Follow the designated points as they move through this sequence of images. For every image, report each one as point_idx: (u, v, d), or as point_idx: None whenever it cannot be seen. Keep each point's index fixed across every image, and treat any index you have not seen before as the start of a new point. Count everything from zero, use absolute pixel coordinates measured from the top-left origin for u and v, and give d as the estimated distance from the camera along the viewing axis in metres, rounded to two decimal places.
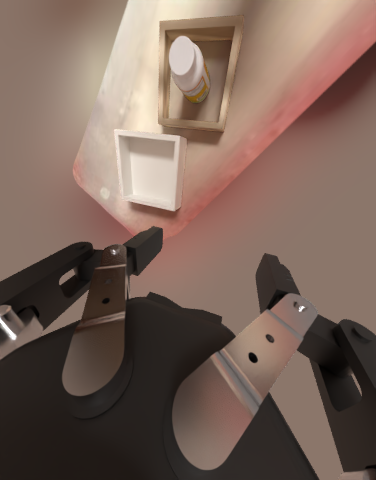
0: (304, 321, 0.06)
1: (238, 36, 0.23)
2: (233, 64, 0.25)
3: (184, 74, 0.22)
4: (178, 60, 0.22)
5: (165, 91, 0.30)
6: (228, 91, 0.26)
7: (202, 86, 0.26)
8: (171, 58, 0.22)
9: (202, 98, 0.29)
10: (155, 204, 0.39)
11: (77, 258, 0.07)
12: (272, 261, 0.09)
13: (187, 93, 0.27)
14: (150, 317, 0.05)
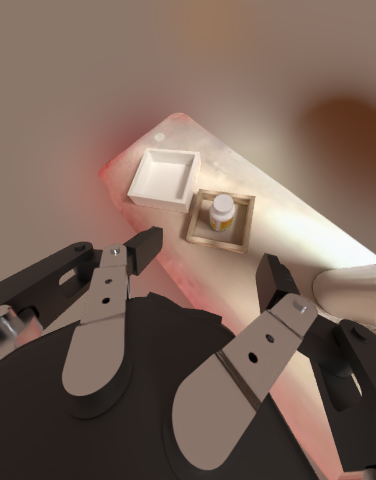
0: (304, 321, 0.06)
1: (237, 248, 0.33)
2: (223, 245, 0.33)
3: (213, 204, 0.29)
4: (221, 200, 0.29)
5: None
6: (208, 242, 0.34)
7: (213, 223, 0.34)
8: (223, 196, 0.30)
9: None
10: (136, 178, 0.40)
11: (77, 258, 0.07)
12: (272, 261, 0.09)
13: None
14: (150, 317, 0.05)
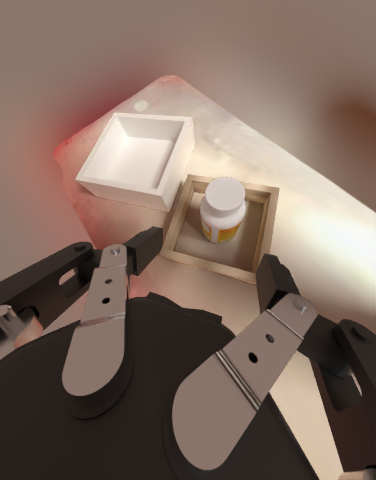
0: (304, 321, 0.06)
1: (246, 277, 0.18)
2: (222, 271, 0.19)
3: (205, 195, 0.15)
4: (221, 189, 0.15)
5: None
6: (197, 264, 0.20)
7: (206, 230, 0.20)
8: (226, 180, 0.15)
9: (203, 232, 0.23)
10: (92, 155, 0.26)
11: (77, 258, 0.07)
12: (272, 261, 0.09)
13: None
14: (150, 317, 0.05)
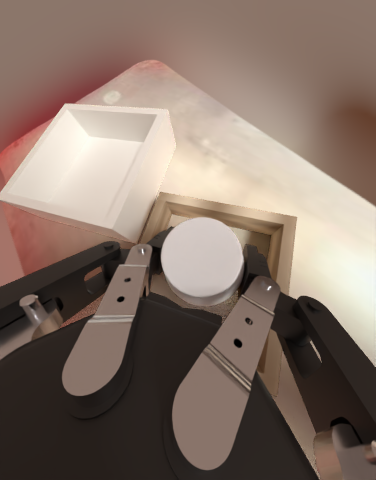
0: (266, 296, 0.07)
1: None
2: None
3: (161, 257, 0.07)
4: (194, 244, 0.07)
5: (204, 213, 0.16)
6: None
7: None
8: (204, 224, 0.07)
9: None
10: (26, 162, 0.18)
11: (104, 257, 0.08)
12: (250, 250, 0.10)
13: None
14: (150, 317, 0.05)
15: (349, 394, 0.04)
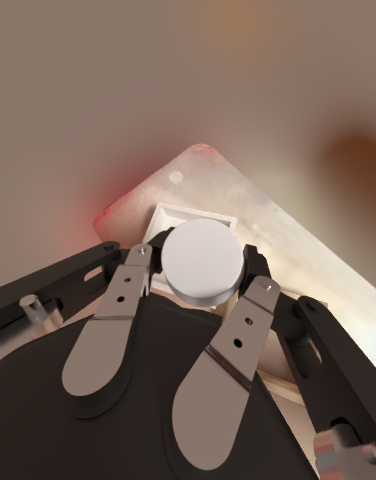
0: (266, 296, 0.07)
1: (303, 404, 0.20)
2: (278, 393, 0.20)
3: (161, 258, 0.07)
4: (194, 245, 0.07)
5: None
6: None
7: None
8: (204, 225, 0.07)
9: None
10: None
11: (104, 257, 0.08)
12: (250, 250, 0.10)
13: None
14: (150, 317, 0.05)
15: (349, 394, 0.04)
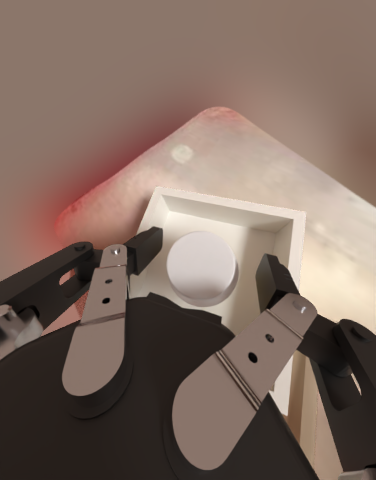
0: (304, 321, 0.06)
1: None
2: None
3: (166, 265, 0.09)
4: (194, 254, 0.09)
5: None
6: None
7: None
8: (203, 237, 0.09)
9: None
10: None
11: (78, 258, 0.07)
12: (272, 261, 0.09)
13: None
14: (150, 317, 0.05)
15: None
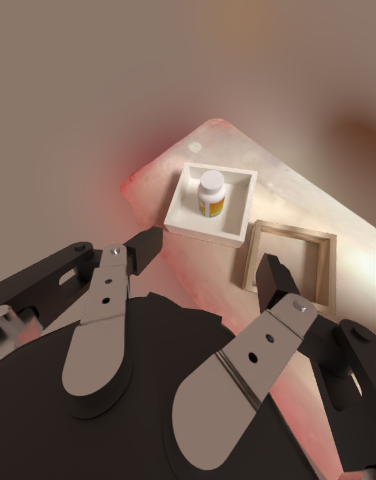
0: (304, 321, 0.06)
1: (320, 309, 0.24)
2: None
3: (200, 181, 0.25)
4: (210, 177, 0.25)
5: (283, 231, 0.30)
6: None
7: (201, 206, 0.30)
8: (213, 172, 0.25)
9: None
10: (174, 201, 0.31)
11: (77, 258, 0.07)
12: (272, 261, 0.09)
13: None
14: (150, 317, 0.05)
15: None
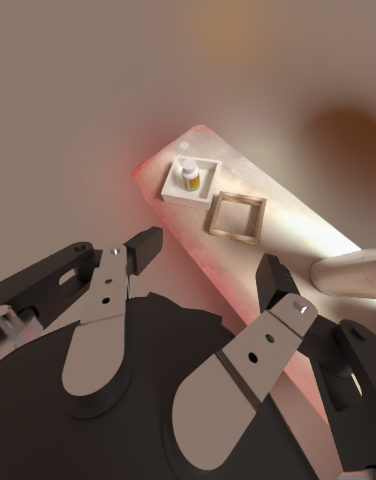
0: (304, 321, 0.06)
1: (251, 239, 0.41)
2: (239, 237, 0.42)
3: (182, 165, 0.43)
4: (188, 162, 0.43)
5: (236, 198, 0.47)
6: (228, 234, 0.42)
7: (185, 182, 0.47)
8: (189, 159, 0.43)
9: (185, 186, 0.50)
10: (168, 180, 0.49)
11: (77, 258, 0.07)
12: (272, 261, 0.09)
13: None
14: (150, 317, 0.05)
15: None
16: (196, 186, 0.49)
